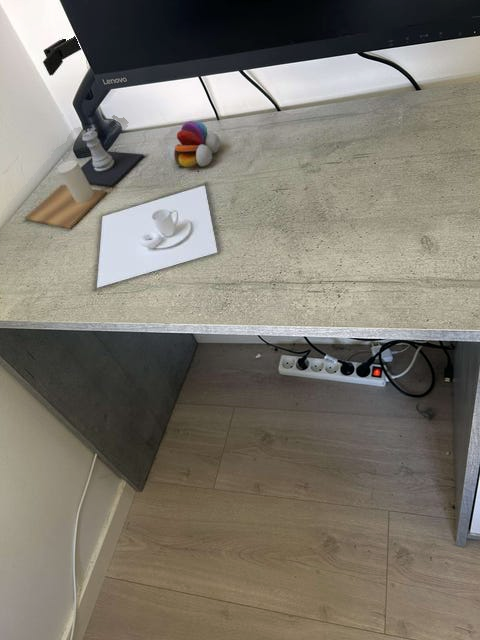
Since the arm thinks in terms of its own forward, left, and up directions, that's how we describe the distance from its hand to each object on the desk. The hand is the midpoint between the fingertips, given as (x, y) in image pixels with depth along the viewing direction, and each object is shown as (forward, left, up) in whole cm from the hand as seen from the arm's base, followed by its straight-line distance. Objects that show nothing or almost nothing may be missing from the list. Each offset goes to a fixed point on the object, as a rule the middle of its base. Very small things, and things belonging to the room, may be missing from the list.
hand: (78, 61), depth 96 cm
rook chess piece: (+4, -9, -18) cm, 20 cm away
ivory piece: (+7, -19, -18) cm, 27 cm away
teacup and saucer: (+29, -24, -19) cm, 42 cm away
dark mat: (+4, -9, -18) cm, 21 cm away
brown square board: (+4, -22, -18) cm, 29 cm away
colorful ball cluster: (+24, -2, -19) cm, 31 cm away
